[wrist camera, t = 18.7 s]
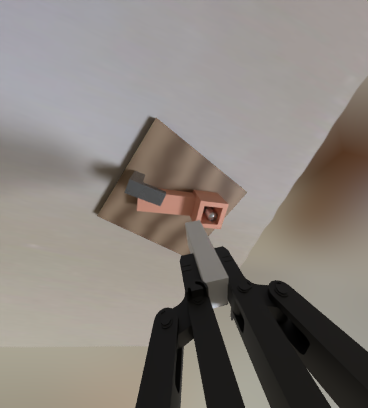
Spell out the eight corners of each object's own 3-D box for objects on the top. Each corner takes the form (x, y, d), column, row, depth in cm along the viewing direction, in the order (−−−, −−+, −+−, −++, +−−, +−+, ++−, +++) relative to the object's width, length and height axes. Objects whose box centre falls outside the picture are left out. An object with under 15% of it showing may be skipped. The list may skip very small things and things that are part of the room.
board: (99, 213, 32) (97, 215, 30) (156, 118, 26) (156, 117, 25) (188, 254, 40) (188, 258, 39) (244, 190, 35) (247, 192, 34)
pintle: (198, 205, 35) (206, 218, 29) (203, 199, 34) (212, 211, 29) (204, 209, 35) (213, 222, 30) (209, 203, 35) (219, 216, 29)
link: (138, 207, 31) (134, 222, 26) (140, 182, 29) (136, 193, 24) (210, 214, 35) (220, 229, 29) (217, 192, 33) (228, 204, 27)
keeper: (131, 180, 30) (124, 192, 23) (135, 169, 29) (129, 179, 22) (159, 191, 32) (160, 206, 25) (164, 181, 31) (166, 194, 24)
